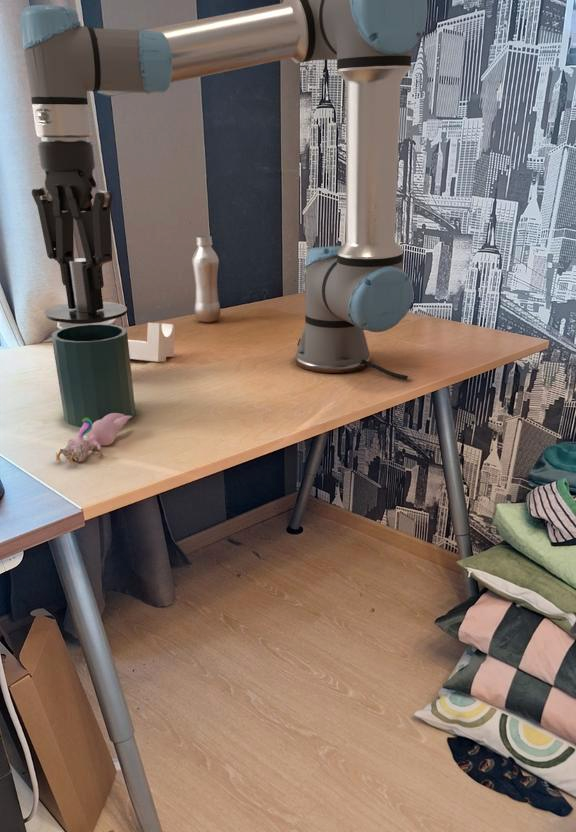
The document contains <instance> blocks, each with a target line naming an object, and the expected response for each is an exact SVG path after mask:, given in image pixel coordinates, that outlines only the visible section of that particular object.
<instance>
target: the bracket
mask: <svg viewBox="0 0 576 832" xmlns="http://www.w3.org/2000/svg"><path fill="white" fill-rule="evenodd" d="M175 330H176V325H175V324H173V323H160V322H147V331H146V332H147V333H146V334H147V335H146V337H147V338H146V341H145V340H136V339H128V346H129V355H130V360H138V361H147V362H157V363H159V362H160V363H161V362H167V358H168V357H174V356H175V355H174V354H175Z"/></svg>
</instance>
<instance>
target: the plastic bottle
mask: <svg viewBox="0 0 576 832" xmlns="http://www.w3.org/2000/svg"><path fill="white" fill-rule="evenodd" d="M212 239H213V237H212V236H211V235H197V236H196V237H195V240H196V242H195V245H196V246H197V247H196V249H195V251H194V252H193V255H192V258H191V266H192V270H193V276H194V283H195V284H194V286H195V291H194V293H195V295H194V296H195V297H194V306H193V308H194V309H193V313H194V317H195V318H196V320H197V321H198V322H205V323H211V322H215V321H219V319H220V317H221V312H222V311H221V304H220V301H219V293H218V272H219V260H220V259H219V257H218V254H217V253H216V251H215V250H214V249H213V247H212V246H213V240H212Z"/></svg>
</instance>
